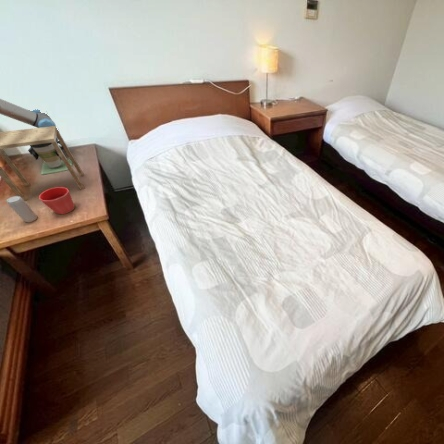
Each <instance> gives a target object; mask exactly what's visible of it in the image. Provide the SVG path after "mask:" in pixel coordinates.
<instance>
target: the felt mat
mask: <svg viewBox="0 0 444 444" xmlns="http://www.w3.org/2000/svg"><path fill="white" fill-rule="evenodd" d="M60 160H61V162H62V164H61V165H60V166H58V167H49V166H48V165H47V164H46V163H45V162H42V165H41V166H42V167H41V172H40V175H41V176H45V175H51V174H56V173H63V172H67V171H68V172H69V170H68V168H67V167H66V165H65V164H64V162H63V160H62V159H60ZM67 160H68V162H69V163H70V165H71V166H72V167H73V163H72V161H71V160H70V158H67Z"/></svg>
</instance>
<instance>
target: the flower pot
mask: <svg viewBox="0 0 444 444" xmlns="http://www.w3.org/2000/svg"><path fill="white" fill-rule="evenodd" d="M38 199H39V201H41V202H42V203H43V205H45V206H46V207H47V208H48V209H50V210H51V211H52V212H54V213H55V214H57V215H64V214H68V213H70V212H72V211H73V210H74V209H75V204H74V201H73V197H72V195H71V192H70V190H69V189H68V188H67V187H64V186H57V187H51V188H48V189H46V190H44V191H42V192H41V193H40V194H39V196H38Z"/></svg>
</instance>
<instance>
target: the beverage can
mask: <svg viewBox="0 0 444 444" xmlns="http://www.w3.org/2000/svg"><path fill="white" fill-rule="evenodd" d="M6 203H7V204H8V205H9V207H10V208H11V209H12V210H13V211H14V212H15V213H16V215H18V216H19V218H20V219H21V220H22V221H23V222H25V223H32V222H34V221H36V220H37V219H38V215H37V214H36V213H35V212H34V211H33V209H32V208H31V207H30V205H28V204H27V202H26V201H24V200H23V199H22V198H21V197H20V196H17V195H14V196H10V197H8V198H7V199H6Z"/></svg>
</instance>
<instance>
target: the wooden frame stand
mask: <svg viewBox="0 0 444 444" xmlns="http://www.w3.org/2000/svg"><path fill="white" fill-rule="evenodd" d="M56 127H57V125H56V126H51V127H42V128H37V127H33V128H24V129H17V130H16V129H15V130H5V131H0V157H2V159H3V161H5V163H6V164H7V165H8V166H9V167H10V169H11V170H12V171H13V172H14V174H15V175H16V176H17V177H18V178H19V180H20V181H21V182H22V184H23V185H24V186H25V187H30V186H31V183H30V181H28V180H27V178H26V177H25V176H24V175H23V173H22V172H21V170H20V169H19V168H18V167H17V166H16V164H15V163H14V161H12V159H11V158H10V157H9V156H8V154H7V153H6V152H5V151H4V150H5V149H12V148H20V147H28V146H30V145H36V144H44V143H52V144H53V146H54V148H55V149H56V151H57V152H58V154H59V157H60V160H63V162H64V164H65V165H66V167H67V168H68V172H69V173H70V175H71V176H72V178H73V180H74V181H75V183H76V184H77V186H78V187H79V189H80V190H84V189H85V186H84V185H83V182H82V181H81V179H80V178H79V176H80V177H84V175H85V174H84V172H83V171H82V169H81V167H80V165H79V164H78V162H77V160H76V158H75V157H74V155H73V153H72V152H71V150H70V148H69V146H68V144H67V143H66V142H65V140H64V138H63V136H62V134H61V133H60V130H59V129H58V130H59V131H58V130H57V128H58V127H57V128H56ZM56 136H57V138H58V141H60V143H61V145H62V146H63V148H64V149H63V150H61V148H60V147H61V145H60V144H59V143H58V144H57V142H56ZM59 146H60V147H59ZM63 151H65V153H66V155H67V157H68V158H67V157H66V155H65V153H64V152H63ZM67 159H70V160H71V161H72V166H71V165H70V163H69V162H68V160H67ZM73 166H74V168H75V170H76V171H77V173H78V174H77V173H76V171H75V170H74V168H73ZM78 175H79V176H78ZM0 177H1V178H2V180H3V181H4V182H5V183H6V184H7V186H9V188H10V189H11V190H12V191H13V192H14V193H15V196H20V197H21V198H22V199H23V200H24V201H25V202H26V201H27V200H28V199H27V197H26V196H25V195H24V193H23V192H22V191H21V190H20V189H19V188H18V187H17V185H16V184H15V183H14V182H13V180H12V179H11V178H10V177H9V176H8V175H7V174H6V172H5V171H4V170H3V168H2V167H1V166H0Z"/></svg>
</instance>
